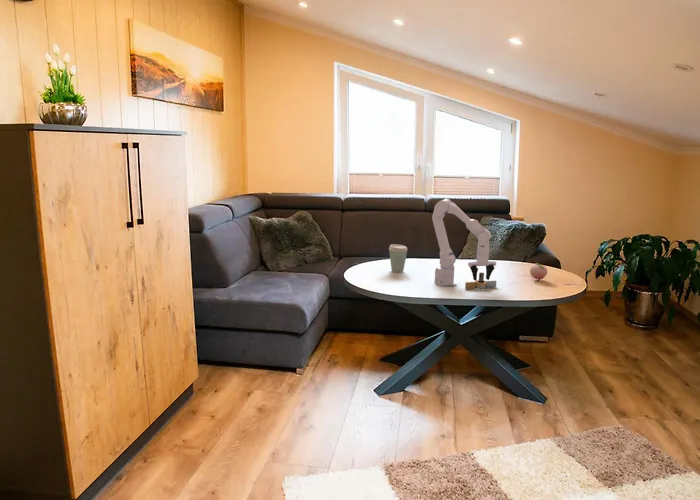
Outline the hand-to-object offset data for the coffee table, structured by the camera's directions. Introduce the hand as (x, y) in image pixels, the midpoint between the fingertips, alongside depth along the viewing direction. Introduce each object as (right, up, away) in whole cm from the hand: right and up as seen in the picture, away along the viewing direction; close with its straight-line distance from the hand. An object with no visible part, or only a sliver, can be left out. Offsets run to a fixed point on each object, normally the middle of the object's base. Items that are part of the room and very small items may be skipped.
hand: (481, 279), depth 282 cm
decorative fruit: (+35, -2, +18) cm, 39 cm away
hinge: (0, -4, +1) cm, 4 cm away
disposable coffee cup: (-40, +3, +33) cm, 52 cm away
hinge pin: (0, -4, +1) cm, 4 cm away
